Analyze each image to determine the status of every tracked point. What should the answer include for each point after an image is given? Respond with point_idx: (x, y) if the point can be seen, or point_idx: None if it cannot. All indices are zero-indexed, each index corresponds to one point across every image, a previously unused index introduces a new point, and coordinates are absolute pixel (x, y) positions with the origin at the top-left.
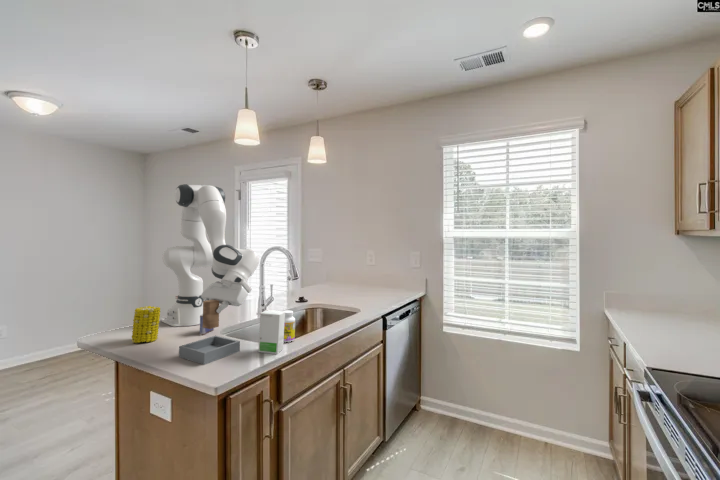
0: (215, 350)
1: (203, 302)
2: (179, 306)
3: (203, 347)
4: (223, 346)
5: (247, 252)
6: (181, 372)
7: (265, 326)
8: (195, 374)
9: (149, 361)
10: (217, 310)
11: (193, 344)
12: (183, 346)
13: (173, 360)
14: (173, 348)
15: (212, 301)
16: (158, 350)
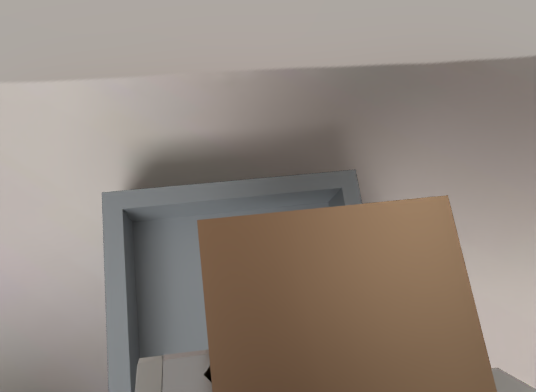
0: (105, 279)
1: (418, 203)
2: None
3: None
4: (113, 358)
5: None
6: (122, 91)
7: None
8: (38, 114)
9: (379, 80)
10: (137, 365)
11: None
12: (332, 183)
13: (308, 149)
14: (496, 243)
15: (252, 318)
16: (513, 178)
